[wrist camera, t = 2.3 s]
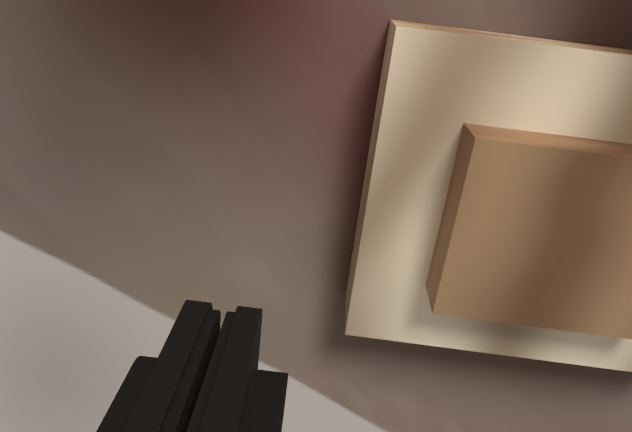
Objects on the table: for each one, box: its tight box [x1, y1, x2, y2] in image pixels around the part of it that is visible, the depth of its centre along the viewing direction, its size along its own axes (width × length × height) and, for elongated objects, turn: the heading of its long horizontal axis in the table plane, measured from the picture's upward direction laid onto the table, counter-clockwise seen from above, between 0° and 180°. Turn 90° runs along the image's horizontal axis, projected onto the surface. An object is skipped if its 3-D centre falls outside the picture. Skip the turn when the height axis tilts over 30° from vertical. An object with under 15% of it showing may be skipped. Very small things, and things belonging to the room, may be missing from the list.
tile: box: [426, 123, 632, 339], centre depth 20 cm, size 9×7×2 cm
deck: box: [345, 19, 632, 372], centre depth 22 cm, size 16×13×3 cm
